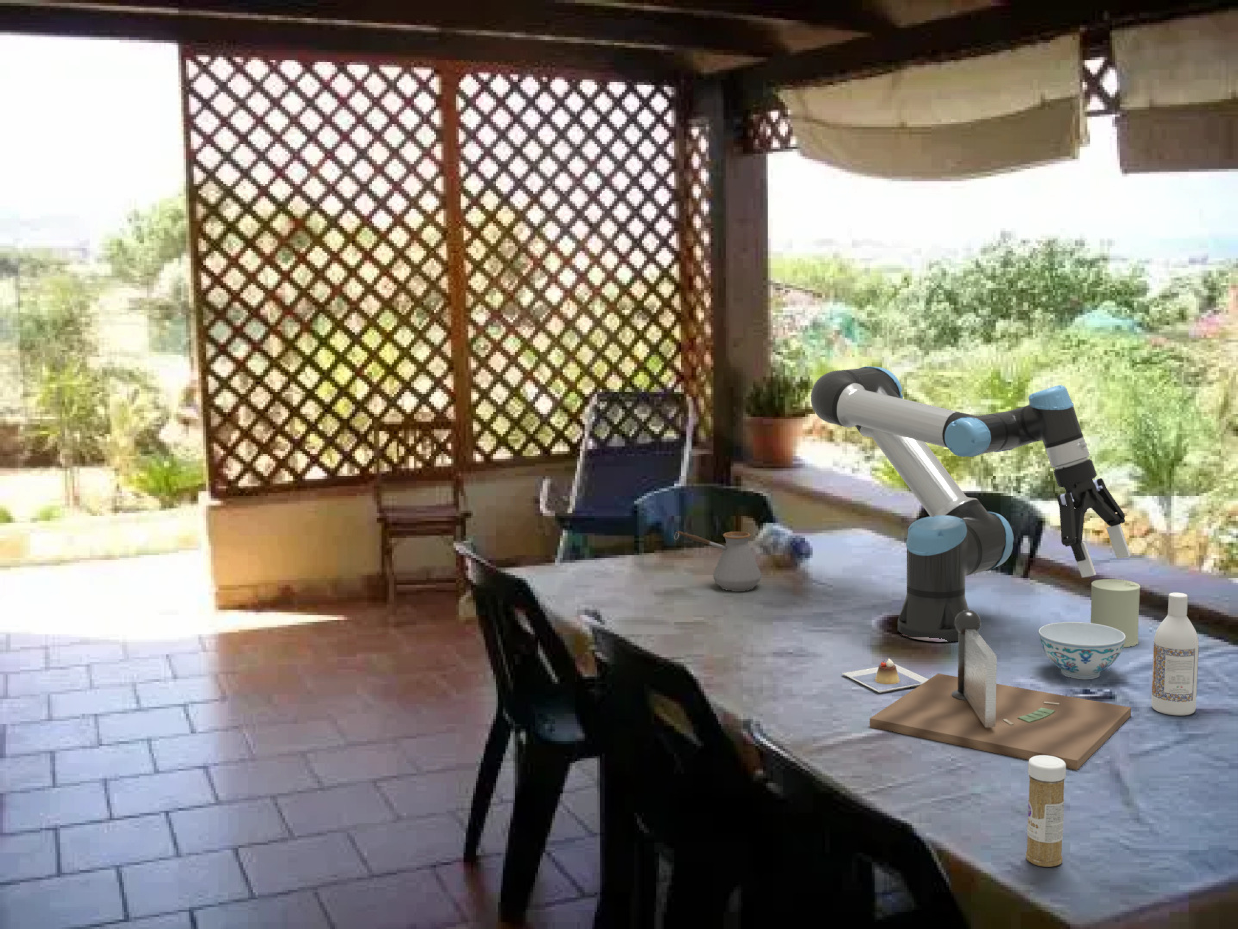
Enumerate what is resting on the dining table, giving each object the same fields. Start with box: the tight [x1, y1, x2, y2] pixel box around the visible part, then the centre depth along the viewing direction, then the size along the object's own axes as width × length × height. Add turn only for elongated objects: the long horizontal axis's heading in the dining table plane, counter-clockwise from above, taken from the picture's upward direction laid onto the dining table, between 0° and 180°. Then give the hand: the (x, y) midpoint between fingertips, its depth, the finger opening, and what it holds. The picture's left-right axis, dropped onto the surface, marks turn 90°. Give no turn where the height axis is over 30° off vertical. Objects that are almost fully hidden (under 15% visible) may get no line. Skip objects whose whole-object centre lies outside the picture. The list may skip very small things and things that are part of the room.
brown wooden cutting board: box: [869, 673, 1132, 771], centre depth 219 cm, size 34×28×2 cm
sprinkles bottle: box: [1025, 755, 1067, 868], centre depth 168 cm, size 5×5×13 cm
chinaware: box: [1038, 621, 1125, 680], centre depth 242 cm, size 15×15×8 cm
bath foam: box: [1150, 592, 1200, 716], centre depth 221 cm, size 7×7×20 cm
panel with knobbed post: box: [954, 609, 998, 727], centre depth 219 cm, size 20×4×14 cm, turn 177°
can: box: [1090, 578, 1141, 648], centre depth 261 cm, size 9×9×12 cm
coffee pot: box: [673, 530, 762, 592], centre depth 309 cm, size 21×12×15 cm, turn 109°
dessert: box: [841, 658, 930, 694], centre depth 241 cm, size 12×12×5 cm
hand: (1106, 566), depth 258 cm, fingers open, 13 cm apart
